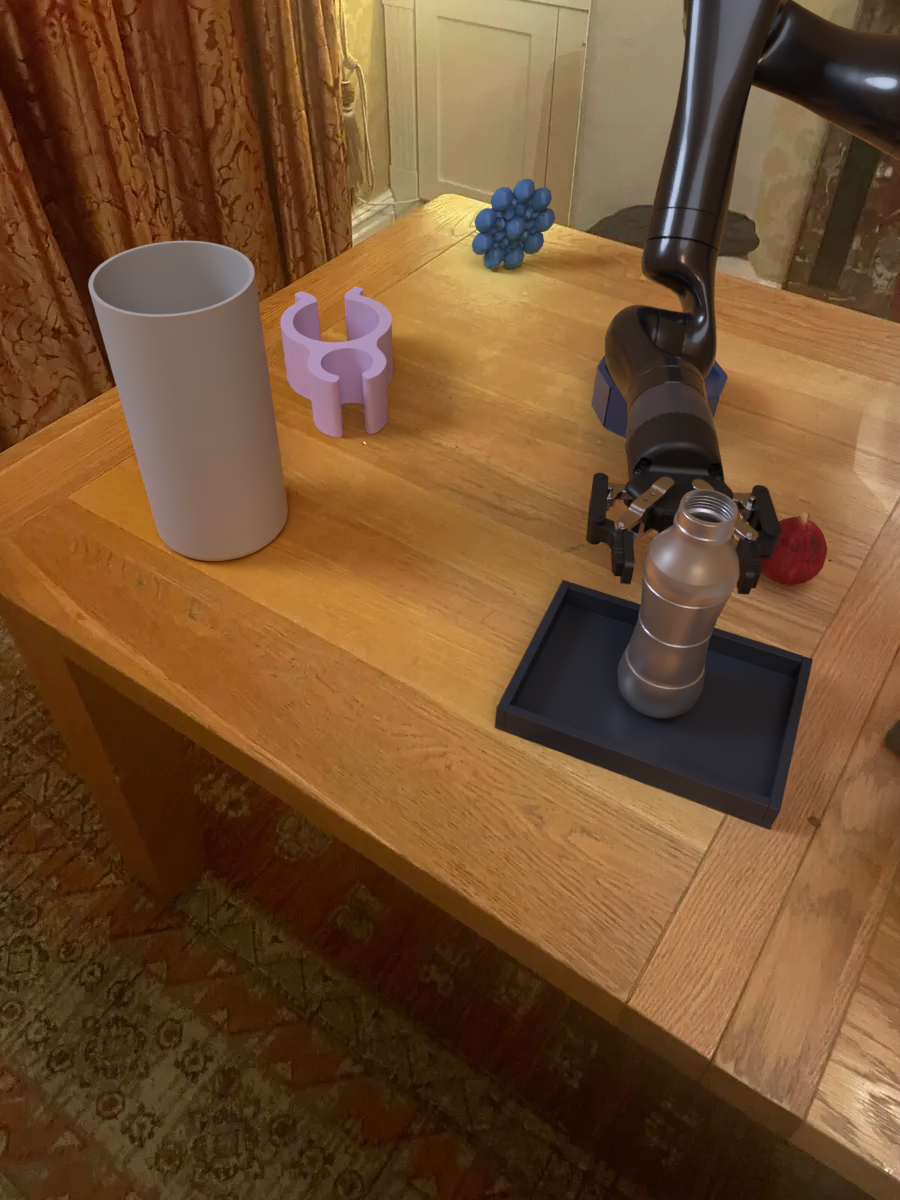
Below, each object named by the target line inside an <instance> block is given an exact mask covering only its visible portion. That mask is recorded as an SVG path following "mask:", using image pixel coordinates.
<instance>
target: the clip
mask: <svg viewBox="0 0 900 1200" xmlns="http://www.w3.org/2000/svg"><path fill="white" fill-rule="evenodd" d="M344 313H345V326H346V327H345V328H346V341H334V342H333V341H323V340H322V338H321V327H320V326H321V325H320V318H319V317H320V316H319V305H318V299H317V298H316V297H315V296H314V295H312V294H311V293H308V292H306V291H303V290H302V291H301V290H299V291H297V292H295V293H294V303H293V304H291V305H290V306H289V307H287V308H286V309H285V310H284V312H283V313H282V315H281V317H280V320H279V325H280V332H281V340H282V348H283V356H284V364H285V373H286V380H287V383H288V385H289V387H290V388H291V389H292V390H293V391H294V392H295V393H296V394H298V395H300V396H301V397H303V398H305V399H308V400H309V401H310V403H311V411H312V412H311V413H312V420H313V424H314V426H315V427H316V429H317V430H318V431H320V432H321V433H323V434H325V435H326V436H329V437H331V438H335V439H340V438H342V437H343V435H344V423H343V410H342V409H343V408H342V405H344V404H360V405H363V411H364V413H363V414H364V429H365V433H367V434H369V435H374V434H376V433H378V432H380V431H381V430H382V429H383V428H384V427H385V426H386V425H387V423H388V420H389V398H388V397H389V396H388V387H389V385H390V384H391V383H392V381H393V378H394V355H393V354H394V353H393V352H394V351H393V349H394V347H393V321H392V320H393V319H392V314H391V311H390V310H389V309H388V308H387V307H386V306H385V305H384V304H383V303H381V302H379V301H378V300H376V299H373V298H371V297H368V296H364V288H363V287H360V286H353V287H352V288H350V289H349V290H348V291H347V292H345V294H344Z"/></svg>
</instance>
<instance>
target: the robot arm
mask: <svg viewBox="0 0 900 1200" xmlns="http://www.w3.org/2000/svg"><path fill="white" fill-rule="evenodd" d="M682 2H683V3H682V33H683V38H684V40H685V41H684V52H683V60H682V69H681V75H680V80H679V81H680V82H679V88H678V93H677V94H678V95H677V99H676V106H675V110H674V114H673V120H672V123H671V129H670V132H669V137H668V140H667V144H666V149H665V152H664V158H663V162H662V165H661V169H660V174H659V178H658V182H657V186H656V190H655V195H654V199H653V203H652V208H651V212H650V216H649V222H648V226H647V231H646V236H645V241H644V245H643V250H642V256H641V263H640V269H641V272H642V275H643V276H644V277H645V278H646V279H647V280H649V281H651V282H653V283H654V284H657V285H659V286H661V287H663V288H664V289H666V290H669V291H671V293H673V294H675V296H677V298H678V301H679V302H680V305H681V310H682V311H679V310H678V311H677V310H671V309H667V308H662V307H656V306H652V305H646V304H631V305H627V306H626V307H624V308H621V310H619V312H617V313H616V314H615V315H614V317H613V318H612V319H611V321H610V322H609V325H608V326H607V330H606V333H605V337H604V355H605V358H606V363H607V367H608V370H609V373H610V375H611V377H612V379H613V381H614V382H615V384H616V387H618V389H619V391H620V392H621V394H622V396H623V398H624V399H625V401H626V402H627V413H628V422H627V428H626V438H625V442H624V443H625V444H624V449H625V454H626V462H627V478H628V479H627V480H628V481H626V483H619V482H609V480H610V479H609V475H608V474H606V473H604V472H596V473H594V474H593V476H592V482H591V488H590V494H589V501H588V511H587V523H586V536H585V540H586V542H587V543H588V544H589V545H594V546H597V545H600V544H601V543H602V544H605V545H607V546H608V547H609V549H610V568H611V569H610V570H611V571H610V572H611V573H612V575H613V576H614V577H616V578H617V577H619V580H620V584H621V585H631V584H632V580H633V575H634V571H635V564H636V563H635V562H636V561H635V560H636V559H635V544H634V543H639V542H641V541H642V540H643V539H644V538H646V537H647V536H648V535H649V534H650V533H652V531H656V532H657V535H658V534H659V533H661V532H662V531H664V530H665V529H667V528H668V527H670V526H672V525H674V524H673V521H674V517H675V514H676V512H677V511H678V509H679V505H680V502H681V500H682V498H683V496H684V495H685V494H686V493H688V492H690V491H693V490H698V489H708V490H714V491H717V492H720V493H723V494H725V495H726V496H728V497H730V498H731V499H732V500H733V501H734V502H735V503H736V505H737V508H738V516H737V519H736V522H735V524H734V525H735V529H734V532H733V535H732V537H731V538H730V541H731V543H732V545H733V547H734V549H735V551H736V553H737V556H738V560H739V570H740V573H739V579H738V582H737V584H736V589H737V590H736V591H737V594H738V595H750V593H751V590H752V589H756V588H757V585H758V584H759V583H758V582H759V580H760V578H761V574H762V572H763V570H762V566H761V561H760V557H761V558H764V559H770V558H772V557H773V554H774V551H775V547H776V544H777V542H778V539H779V538H780V535H781V533H782V530H781V527H780V524H779V521H780V520H779V517H778V514H777V512H776V508H775V506H774V502H773V499H772V496H771V493H770V491H769V489H768V487H767V486H765V485H763V484H756V485H753V487H752V490H751V492H734V491H733V490H732V489H731V487H730V486H728V484H727V483H726V481H725V475H724V474H725V473H724V468H723V467H724V466H723V461H722V455H721V449H720V444H719V439H718V434H717V433H718V432H717V428H716V423H715V422H714V419H713V416H712V413H711V411H710V409H709V405H708V400H707V394H706V388H705V383H704V380H705V378H706V377H707V376H708V375H709V373H710V371H711V369H712V367H713V365H714V361H715V360H716V356H717V350H718V345H717V344H718V335H717V322H716V319H717V318H716V304H715V300H716V299H715V287H716V285H715V284H716V272H717V271H716V270H717V264H718V263H717V262H718V258H719V253H720V249H721V245H722V240H723V237H724V236H723V235H724V231H725V226H726V222H727V218H728V213H729V208H730V202H731V196H732V192H733V191H732V190H733V185H734V179H735V172H736V165H737V158H738V155H739V153H738V152H739V147H740V142H741V136H742V129H743V125H744V119H745V115H746V114H745V113H746V109H747V105H748V101H749V97H750V92H751V89H752V87H755V88H758V89H760V90H763V91H765V92H768V93H770V94H774V95H775V96H779V97H780V98H783V99H785V100H787V101H789V102H792V103H795V104H797V105H799V106H801V107H802V108H804V109H806V110H808V111H810V112H811V113H812V114H815V115H816V116H818V117H820V118H821V119H823V120H824V121H827V122H828V123H831V124H832V125H833V126H835V127H838V128H839V129H841V130H843V131H845V132H847V133H849V134H851V136H854V137H856V138H858V139H860V140H862V141H864V142H865V143H867V144H869V145H871V146H872V147H874V148H875V149H877V150H879V151H881V152H882V153H884V154H886V155H887V156H889V157H891V158H893V159H894V160H897V161H899V162H900V33H899V34H898V33H887V32H886V33H885V32H871V31H865V30H864V31H863V30H857V29H852V28H847V27H844V26H842V25H839V24H836V23H834V22H832V21H830V20H827V19H826V18H824V17H822V16H820V15H819V14H816V13H815V12H813V11H811V10H809V9H808V8H807V7H804V6H802V5H801V4H799V3H798V2H796V1H795V0H682ZM619 501H623V503H624V505H625V506H626V507H627V508H628V509H627V510H626V511H625V512H623V513H622V514H620V515H619V516H618V517H617V518H616V519H615V520H614V519H610V518H607V512H610V509H611V508H613V507H614V506H616V503H617V502H619ZM741 517H742V518H741ZM735 536H736V537H737V538H738V539H736V537H735Z"/></svg>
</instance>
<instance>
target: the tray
mask: <svg viewBox="0 0 900 1200" xmlns="http://www.w3.org/2000/svg"><path fill="white" fill-rule="evenodd" d="M639 610H640V603H638V602H635V601H632V600H629V599H625V598H622V597H618V596H616V595H612V594H610V593H607V592H604V591H600V590H597V589H594V588H592V587H591V588H590V587H587V586H584V585H581V584H578V583H574V582H571V581H568V580H565V579H562V580H561V582H560V584H559V586H558V588H557V590H556V592H555V594H554V595H553V597H552V599H551V602H550V603H549V605H548V607H547V609H546V610H545V613H544V615H543V617H542V618H541V621H540V622H539V624H538V625H537V628H536V630H535V632H534V635H533V636H532V638H531V640H530V642H529V644H528V645H527V648H526V650H525V652H524V654H523V656H522V658H521V660H520V662H519V663H518V665H517V667H516V669H515V671H514V673H513V675H512V677H511V679H510V681H509V683H508V685H507V686H506V689H505V690H504V693H503V694H502V696H501V698H500V700H499V702H498V704H497V706H496V707H495V708H496V710H495V719H494V729H497V730H500V731H502V732H505V733H508V734H511V735H512V736H516V737H518V738H521V739H524V740H527V741H529V742H532V743H535V744H537V745H541V746H542V747H545V748H548V749H550V750H554V751H556V752H559V753H561V754H564V755H568V756H570V757H572V758H575V759H578V760H580V761H583V762H586V763H588V764H592V765H594V766H597V767H599V768H601V769H605V770H608V771H610V772H613V773H616V774H618V775H621V776H623V777H627V778H629V779H631V780H635V781H637V782H640V783H643V784H645V785H648V786H651V787H653V788H656V789H659V790H661V791H664V792H667V793H670V794H673V795H675V796H677V797H681V798H683V799H686V800H688V801H691V802H694V803H696V804H700V805H702V806H705V807H706V808H707V807H708V808H710V809H713V810H716V811H717V812H718V811H719V812H721V813H724V814H726V815H728V816H732V817H734V818H737V819H740V820H743V821H745V822H748V823H751V824H753V825H756V826H759V827H762V828H765V829H767V830H771V829H772V828H773V825H774V823H775V822H776V819H778V816H779V814H780V813H781V810H782V809H781V808H782V804H783V800H784V795H785V790H786V785H787V781H788V777H789V773H790V767H791V762H792V760H793V759H792V758H793V754H794V749H795V744H796V741H797V740H796V739H797V735H798V731H799V725H800V721H801V717H802V712H803V707H804V704H805V698H806V694H807V689H808V684H809V680H810V676H811V671H812V666H813V661H814V658H812V657H810V656H805V655H803V654H799V653H796V652H793V651H790V650H787V649H783V648H780V647H778V646H774V645H772V644H768V643H765V642H761V641H758V640H755V639H752V638H749V637H745V636H743V635H739V634H737V633H733V632H730V631H726V630H724V629H720V628H717V627H714V629H713V632H712V634H711V637H710V639H709V644H708V649H707V654H706V659H705V676H704V684H703V690H702V692H701V695H700V696H699V698H698V699H697V701H696V702H695V704H694V705H693V706H692V708H691V709H690V710H688V711H687V712H685V713H683V714H681V715H679V716H675V717H671V718H663V719H662V718H654V717H649V716H646V715H644V714H642V713H640V712H638V711H636V710H635V709H634V708H633V707H631V706H630V704H629V703H628V702H627V701H626V700H625V699H624V698H623V696H622V694H621V693H620V690H619V687H618V665H619V662H620V660H621V658H622V655H623V653H624V651H625V649H626V647H627V646H628V644H629V643H630V640H631V637H632V635H633V632H634V629H635V626H636V624H637V621H638V616H639Z"/></svg>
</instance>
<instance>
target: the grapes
mask: <svg viewBox="0 0 900 1200" xmlns="http://www.w3.org/2000/svg"><path fill="white" fill-rule="evenodd" d="M552 198H553V196H552V191H551V190H550V189H549V188H548V187H538V188H536V186H535V182H534V181H533V179H531V178H523V179H521V180H519V181H518V182H517V183H515V186H514V187H513V189H511V188H510V186H509V187H508V186H501V187H499V188H498V189H496V190H495V191H494V193H493V194H492V196H491V199H490V207H485V208H483V209H481V210H479V212H478V213H476V216H475V219H474V227H475V229H476V231H478V233H477V234H476V235H475V236H474V238H473V239H472V242H471V248H472V251H473V253H474V254H475V255H477V256H483V258H482V262H483V266H484V267H485V268H486V269H487V270H495V269H497V268H499V267H500V266H501V264H502V263H503V266H504V267H505V268H506V269H509V270H513V269H516V268H518V267H519V266H520V265H521V264H522V263H523V261H524V259H525V254H526V255H535V254H537V253H539V251H540V250H541V249H542V248H543V246H544V243H545V238H544V233H545V232H547V231H549V230H550V229H551V228H552V226H553V225H554V223H555V220H556V216H555V211H554V210H553V209H552V208H549V206H550V204H551V203H552Z"/></svg>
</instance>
